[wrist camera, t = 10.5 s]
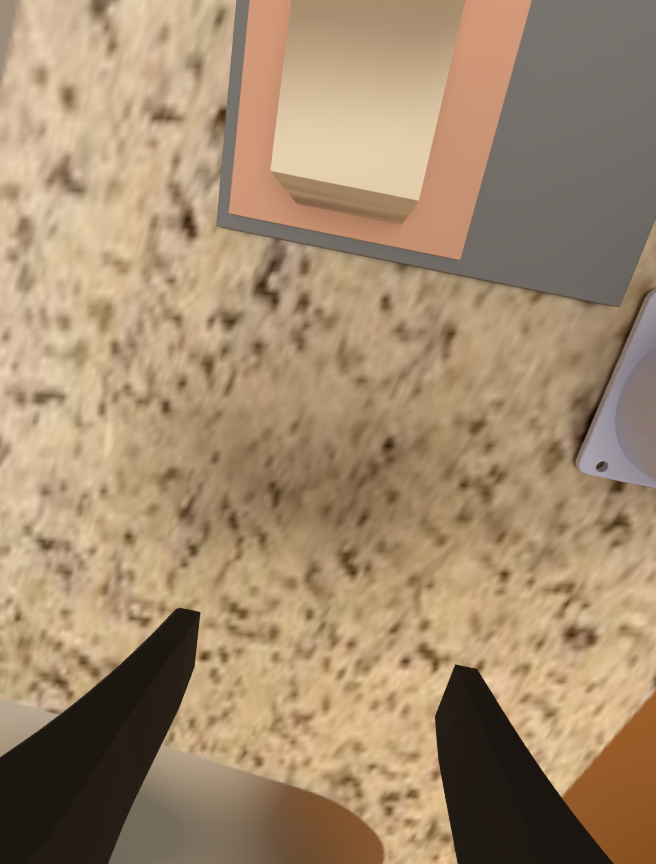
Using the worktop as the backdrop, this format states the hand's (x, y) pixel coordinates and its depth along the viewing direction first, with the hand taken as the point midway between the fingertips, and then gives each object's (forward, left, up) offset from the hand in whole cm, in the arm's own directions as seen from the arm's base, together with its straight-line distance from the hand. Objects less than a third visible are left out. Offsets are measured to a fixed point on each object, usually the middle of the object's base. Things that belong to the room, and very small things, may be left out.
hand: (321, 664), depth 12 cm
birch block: (+2, -16, -9) cm, 18 cm away
